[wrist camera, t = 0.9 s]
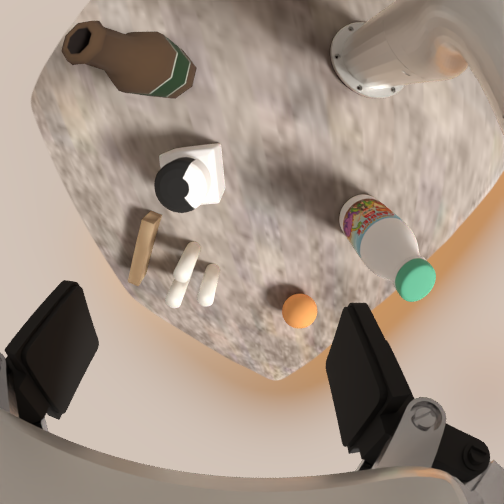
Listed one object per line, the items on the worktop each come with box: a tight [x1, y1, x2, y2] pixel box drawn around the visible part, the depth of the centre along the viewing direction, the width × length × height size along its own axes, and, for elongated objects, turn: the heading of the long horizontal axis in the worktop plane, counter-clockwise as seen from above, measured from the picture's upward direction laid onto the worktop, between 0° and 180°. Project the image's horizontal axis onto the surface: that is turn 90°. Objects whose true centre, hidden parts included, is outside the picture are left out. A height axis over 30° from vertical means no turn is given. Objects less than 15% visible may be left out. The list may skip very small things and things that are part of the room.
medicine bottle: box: [154, 143, 225, 213], centre depth 35 cm, size 7×7×12 cm
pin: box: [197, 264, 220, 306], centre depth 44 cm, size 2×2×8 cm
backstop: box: [128, 211, 162, 286], centre depth 44 cm, size 2×12×4 cm, turn 157°
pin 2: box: [165, 274, 192, 308], centre depth 44 cm, size 2×2×8 cm
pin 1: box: [173, 242, 201, 283], centre depth 42 cm, size 2×2×8 cm
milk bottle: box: [339, 194, 436, 302], centre depth 34 cm, size 8×8×20 cm
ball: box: [282, 294, 317, 328], centre depth 47 cm, size 6×6×6 cm
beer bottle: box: [62, 21, 196, 98], centre depth 23 cm, size 8×8×24 cm
